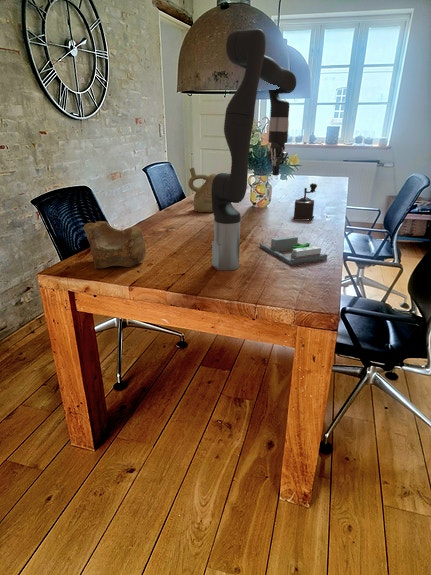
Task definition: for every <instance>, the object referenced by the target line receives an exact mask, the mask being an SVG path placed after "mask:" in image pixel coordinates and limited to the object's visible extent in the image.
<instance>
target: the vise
mask: <svg viewBox="0 0 431 575" xmlns="http://www.w3.org/2000/svg"><path fill="white" fill-rule="evenodd" d="M297 244H300V243H299V242H297ZM259 248H260V249H262V250H263V251H265V252H267V253H268V254H271V255H272V256H274V257H276V258H277V259H279V260H280V261H282V262H285V263H287V264H288V265H290V266H291V267H293V266H295V267H296V266H301V265H306V264H313V263H319V262H326V261H328V253H321V252H322V251H321V250H322V247H320V246H317V245H312V246H309V247H305V248H297V249H292V250H291V254H292V257H291V258H290V257H288V256H286V255H284V254H283V253H282V252H280V251H278V252H277V251H276V250H274V249H272V248H271V246H268V245H266V244H265V243H259Z"/></svg>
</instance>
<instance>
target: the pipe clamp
mask: <svg viewBox="0 0 431 575" xmlns="http://www.w3.org/2000/svg"><path fill="white" fill-rule="evenodd" d="M310 244H311V243H309V242H306V243H305V244H302V243H299V244H297V246H292V249H297V248H305V247H310ZM290 256H291V258H292V253H291V255H290Z"/></svg>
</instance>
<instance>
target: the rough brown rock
mask: <svg viewBox="0 0 431 575" xmlns="http://www.w3.org/2000/svg"><path fill="white" fill-rule="evenodd" d="M83 230H84V233H85V234H86V238H87V240H88V243H89V247H90V251H91V258H92V260H93V264H94V269H96V270H97V269H98V270H99V269H105V268H108V267H109V268H110V267H114V266H115V267H116V266H117V267H118V266H119V267H124V268H125V267H126V268H132V267H135V265H138V264H140V263H141V262H142V261H144V260H145V258H146V256H147V251H146V250H147V249H146V243H145V242H144V237H143V236H144V235H143V230H142V228H141V227H139V226H131V227H130V228H128V229H125V230H121V229H117V228H114V227H112V225H110V224H109V223H108V222H107V221H101V220H100V221H95V222H87V223H85V224H84V225H83Z"/></svg>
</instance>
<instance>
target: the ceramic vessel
mask: <svg viewBox="0 0 431 575" xmlns="http://www.w3.org/2000/svg"><path fill="white" fill-rule="evenodd" d="M195 168H196V167H191V168H189V172H190V175H191V177H190V178H189V179H188V182H187V183H188V187H189V189H190V190H191V191H193V192H195V193H194V196H193V200H192V202H193V206H192V207H193V209H194V211H195V212H197V211H198V212H197V213H202V212H209V213H213V211H212V195H211V188H212V182H213V179H214V177H215V176H216V175H217V173H211V174H209V175H206V174H196V169H195ZM196 180H204V181H205V182H204V183H203V184H202V185H200V186H198V187H197V186H195V185H194V181H196Z"/></svg>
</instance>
